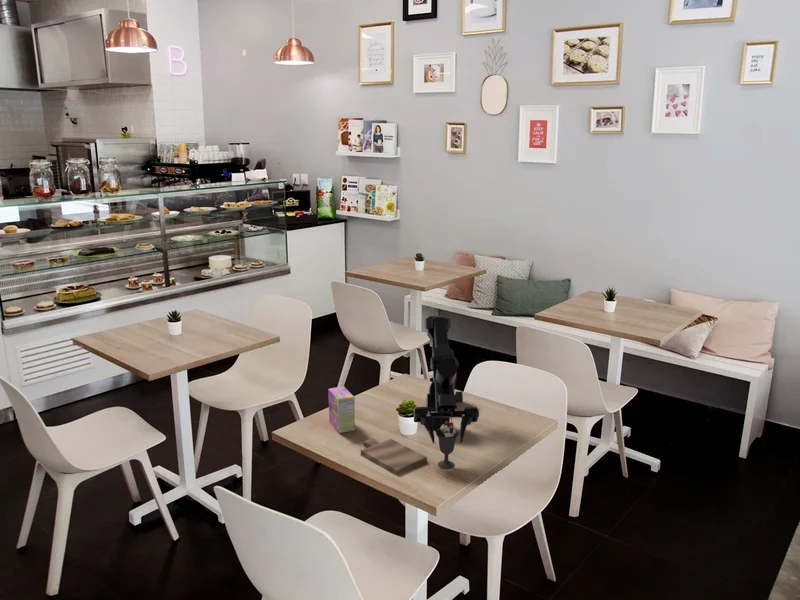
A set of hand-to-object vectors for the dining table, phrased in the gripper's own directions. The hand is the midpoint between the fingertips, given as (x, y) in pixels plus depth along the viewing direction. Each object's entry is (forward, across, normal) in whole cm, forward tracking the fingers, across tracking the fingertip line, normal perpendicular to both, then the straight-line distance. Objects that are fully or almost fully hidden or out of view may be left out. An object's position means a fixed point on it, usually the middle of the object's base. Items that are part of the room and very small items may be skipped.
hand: (447, 442), depth 190 cm
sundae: (+5, 0, +6) cm, 8 cm away
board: (0, -17, +10) cm, 20 cm away
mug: (-29, +4, +40) cm, 49 cm away
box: (-14, -32, +26) cm, 43 cm away
